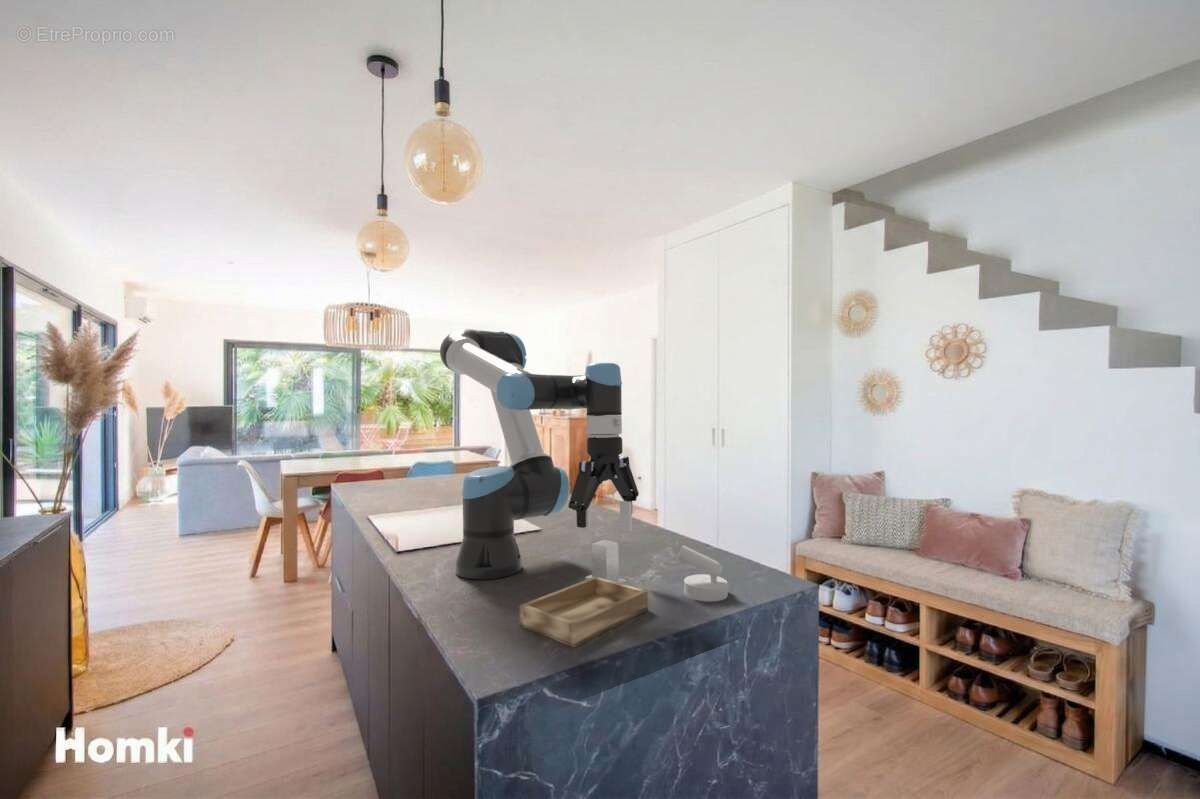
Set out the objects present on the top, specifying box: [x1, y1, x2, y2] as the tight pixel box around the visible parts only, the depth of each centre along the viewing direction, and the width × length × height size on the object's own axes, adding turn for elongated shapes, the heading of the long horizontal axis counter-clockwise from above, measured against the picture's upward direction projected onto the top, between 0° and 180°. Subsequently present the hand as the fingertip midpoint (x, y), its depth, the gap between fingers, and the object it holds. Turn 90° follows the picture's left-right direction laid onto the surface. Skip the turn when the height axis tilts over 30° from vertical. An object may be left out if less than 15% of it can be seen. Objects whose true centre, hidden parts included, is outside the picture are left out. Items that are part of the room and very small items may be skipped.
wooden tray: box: [518, 576, 649, 649], centre depth 95 cm, size 13×20×4 cm, turn 139°
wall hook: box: [676, 544, 729, 603], centre depth 106 cm, size 9×10×10 cm
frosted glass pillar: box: [584, 539, 627, 585], centre depth 111 cm, size 8×4×9 cm, turn 49°
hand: (606, 536), depth 111 cm, fingers open, 13 cm apart
